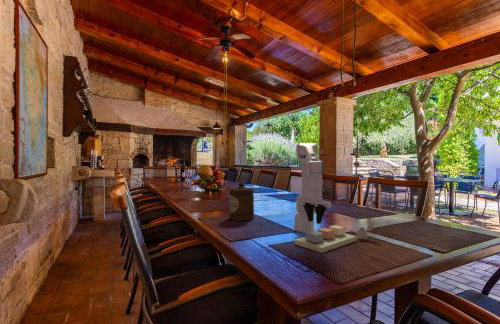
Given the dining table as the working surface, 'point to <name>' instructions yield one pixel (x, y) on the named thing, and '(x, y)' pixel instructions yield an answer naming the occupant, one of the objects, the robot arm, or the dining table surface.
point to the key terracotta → (327, 233)
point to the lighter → (364, 231)
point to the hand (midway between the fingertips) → (314, 222)
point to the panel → (326, 242)
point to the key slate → (314, 236)
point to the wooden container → (241, 203)
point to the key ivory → (338, 229)
